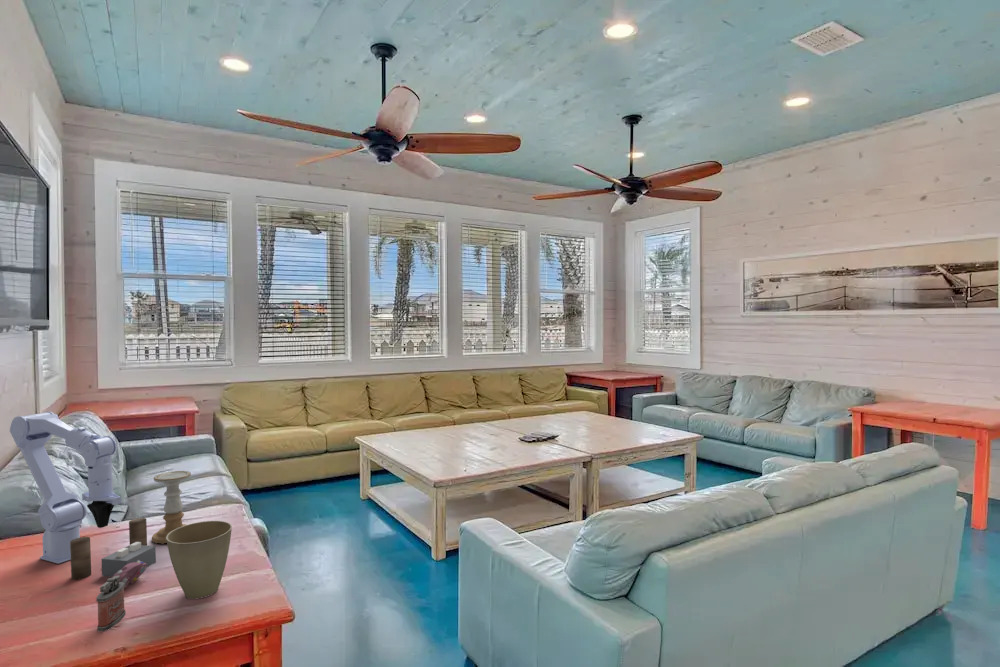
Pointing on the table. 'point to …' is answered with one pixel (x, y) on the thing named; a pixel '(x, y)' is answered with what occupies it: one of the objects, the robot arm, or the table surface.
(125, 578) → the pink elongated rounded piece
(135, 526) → the walnut post
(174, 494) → the candle holder
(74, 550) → the walnut post
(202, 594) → the plant pot
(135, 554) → the block
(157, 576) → the table surface
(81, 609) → the table surface
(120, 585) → the lighter
